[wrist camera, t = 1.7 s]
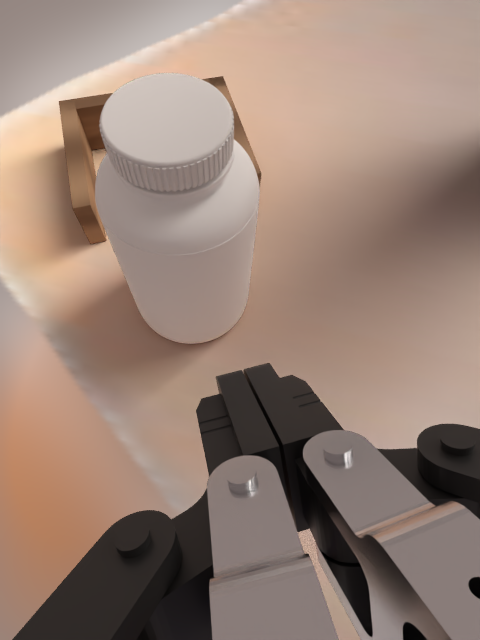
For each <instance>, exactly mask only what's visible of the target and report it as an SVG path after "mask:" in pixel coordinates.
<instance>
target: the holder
mask: <svg viewBox="0 0 480 640" xmlns="http://www.w3.org/2000/svg"><path fill="white" fill-rule="evenodd" d="M202 80H204V81H206V82H208V83H210V84H211V85H213V86H214V87H215V88H217V89H218V90H219V91H220V92H221V93H222V94H223V95H224V96H225V98H226V99H227V101H228V102H229V104H230V106H231V108H232V111H233V116H234V140H236V141H237V142H238V143H239V144H240V145H241V146H242V147H243V149H244V150H245V151H246V152H247V154H248V155H249V157H250V159H251V161H252V163H253V165H254V167H255V170H256V173H257V177H258V180H259V187H260V180H261V171H260V169H259V166H258V164H257V161H256V159H255V156H254V154H253V151H252V149H251V146H250V144H249V141H248V139H247V136H246V134H245V131H244V129H243V126H242V123H241V121H240V118H239V116H238V113H237V111H236V108H235V106H234V103H233V101H232V98H231V96H230V93H229V91H228V88H227V86H226V83H225V81H224V78H223V76H221V77H215V78H208V79H202ZM112 94H113V93H110V94H103V95H97V96H90V97H84V98H77V99H71V100H64V101H59V106H60V114H61V122H62V130H63V138H64V145H65V153H66V161H67V169H68V177H69V185H70V193H71V201H72V209H73V211H74V212H75V214H76V216H77V218H78V220H79V222H80V224H81V226H82V228H83V230H84V232H85V234H86V236H87V238H88V240H89V242H90V244H93V243H98V242H103V241H106V236H105V229H104V226H103V224H102V221H101V219H100V216H99V213H98V210H97V206H96V202H95V183H96V175H95V169H94V163H93V157H92V150H95V149H101V148H105V145H104V142H103V139H102V136H101V133H100V127H99V124H100V123H99V121H100V115H101V112H102V109H103V107H104V105H105V103H106V101H107V100H108V99H109V97H110V96H111V95H112Z"/></svg>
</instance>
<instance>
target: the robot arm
mask: <svg viewBox="0 0 480 640" xmlns="http://www.w3.org/2000/svg"><path fill="white" fill-rule="evenodd" d="M216 380H217V385H218V390H219V394H218V395H214V396H210V397H206V398H203V399H201V401H200V403H199V406H198V408H197V410H196V413H197V418H198V423H199V428H200V433H201V438H202V443H203V448H204V452H205V457H206V462H207V467H208V472H209V479H208V483H207V489H206V491H205V493H204V494H203V496H202V497H201V498H200V500H199V501H198V502H197V503H196V504H194V505H193V506H192V507H191V508H189V509H188V510H186V511H185V512H183V513H182V514H180V515H178V516H176V517H175V518H173V519H170V518H169V517H168V516H167V515H166V514H164V513H162V512H159V511H154V510H153V511H152V510H147V511H140V512H136V513H133V514H130V515H128V516H126V517H124V518H122V519H120V520H119V521H118V522H116V523H115V524H113V525H112V526H111V527H110V528H109V529H108V530H107V531H106V532H105V533H104V534H103V535H102V537H101V538H100V539H99V540H98V541H97V542H96V543H95V545H94V546H93V547H92V548H91V549H90V550H89V551H88V553H87V554H86V555H85V556H84V557H83V558H82V560H81V561H80V562H79V563H78V564H77V565H76V567H75V568H74V569H73V570H72V571H71V572H70V574H69V575H68V576H67V577H66V578H65V579H64V580H63V582H62V583H61V584H60V585H59V586H58V587H57V589H56V590H55V591H54V592H53V593H52V594H51V596H50V597H49V598H48V599H47V600H46V601H45V603H44V604H43V605H42V606H41V607H40V608H39V609H38V611H37V612H36V613H35V614H34V615H33V616H32V618H31V619H30V620H29V621H28V622H27V623H26V624H25V626H24V627H23V628H22V629H21V630H20V631H19V633H18V634H17V635H16V636H15V637H14V638H13V640H339V639H338V636H337V633H336V630H335V627H334V624H333V621H332V618H331V615H330V612H329V610H328V607H327V604H326V601H325V598H324V595H323V592H322V589H321V586H320V583H319V580H318V577H317V574H316V571H315V569H314V566H313V563H312V561H311V558H310V556H309V554H305V553H304V551H303V548H302V545H301V542H300V539H299V536H298V533H297V532H300V531H303V530H306V529H309V528H310V530H311V532H312V534H313V536H314V539H315V542H316V549H317V556H318V560H319V562H320V565H321V566H322V568H323V570H324V572H325V574H326V576H327V578H328V579H329V581H330V583H331V585H332V587H333V589H334V590H335V592H336V594H337V596H338V598H339V600H340V602H341V603H342V605H343V607H344V609H345V611H346V613H347V615H348V616H349V618H350V620H351V622H352V624H353V626H354V627H355V629H356V631H357V633H358V635H359V637H360V639H361V640H480V429H477V428H473V427H469V426H464V425H459V424H439V425H435V426H432V427H429V428H427V429H425V430H424V431H423V432H421V434H420V435H419V437H418V439H417V448H411V449H376V448H375V447H374V446H373V445H372V444H371V443H370V442H369V441H368V440H367V439H366V438H364V437H363V436H361V435H359V434H357V433H354V432H350V431H345V430H343V428H342V427H341V426H340V425H339V423H338V422H337V421H336V419H335V418H334V417H333V416H332V414H331V413H330V412H329V411H328V409H327V408H326V407H325V405H324V404H323V403H322V402H320V399H319V398H318V397H317V395H316V394H314V392H313V390H312V389H311V388H310V386H309V385H308V384H307V383H306V382H305V381H303V380H301V379H299V378H297V377H295V376H293V375H290V376H286V377H282V378H279V377H278V375H277V374H276V372H275V371H274V369H273V368H272V366H271V365H270V363H267V364H263V365H259V366H255V367H251V368H247V369H244V374H243V372H242V370H240V371H236V372H232V373H228V374H224V375H220V376H216Z"/></svg>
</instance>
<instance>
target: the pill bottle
mask: <svg viewBox="0 0 480 640" xmlns="http://www.w3.org/2000/svg"><path fill="white" fill-rule="evenodd" d="M99 123H100V124H99V127H100V133H101V136H102V139H103V142H104V145H105V148H106V151H107V154H106V155H105V157H104V158H103V160H102V162H101V164H100V167H99V169H98V172H97V176H96V183H95V202H96V206H97V210H98V213H99V216H100V219H101V221H102V224H103V226H104V228H105V231H106V233H107V236H108V238H109V240H110V243H111V245H112V247H113V250H114V252H115V255H116V257H117V259H118V262H119V264H120V267H121V269H122V271H123V274H124V276H125V279H126V281H127V283H128V286H129V288H130V290H131V293H132V295H133V298H134V300H135V302H136V305H137V307H138V310H139V312H140V314H141V315H142V317H143V318H144V320H145V321H146V323H147V324H148V325H149V326H150V327H151V328H152V329H153V330H154V331H155V332H157V333H158V334H159V335H161V336H163V337H165V338H167V339H169V340H172V341H175V342H179V343H187V344H195V343H203V342H207V341H211V340H213V339H216V338H218V337H220V336H222V335H223V334H225V333H226V332H228V331H229V330H230V329H231V328H232V327H233V326H234V325H235V324H236V323H237V322H238V320H239V319H240V318H241V316H242V314H243V312H244V310H245V307H246V304H247V300H248V295H249V286H250V278H251V269H252V260H253V251H254V243H255V234H256V225H257V216H258V208H259V197H260V187H259V180H258V177H257V173H256V170H255V167H254V165H253V163H252V161H251V159H250V157H249V155H248V154H247V152H246V151H245V150H244V149H243V147H242V146H241V145H240V144H239V143H238V142H237V141H236V140H234V116H233V111H232V108H231V106H230V104H229V102H228V101H227V99H226V98H225V96H224V95H223V94H222V93H221V92H220V91H219V90H218V89H217V88H215V87H214V86H213V85H211V84H210V83H208V82H206V81H204V80H202V79H199V78H196V77H193V76H190V75H185V74H178V73H159V74H152V75H147V76H143V77H140V78H137V79H134V80H132V81H130V82H128V83H126V84H124V85H123V86H121V87H120V88H119V89H117V90H116V91H115V92H114V93H113V94H112V95H111V96H110V97H109V99H108V100H107V101H106V103H105V105H104V107H103V109H102V112H101V115H100V121H99Z"/></svg>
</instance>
